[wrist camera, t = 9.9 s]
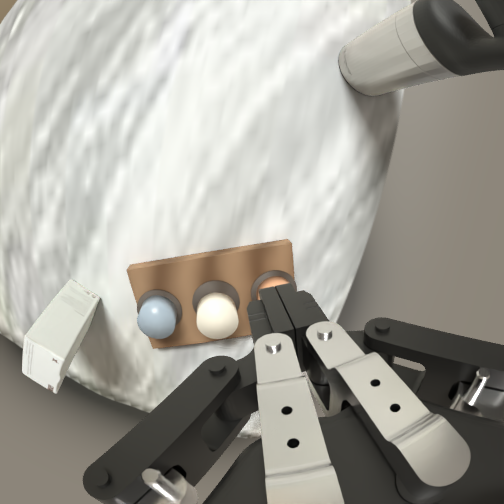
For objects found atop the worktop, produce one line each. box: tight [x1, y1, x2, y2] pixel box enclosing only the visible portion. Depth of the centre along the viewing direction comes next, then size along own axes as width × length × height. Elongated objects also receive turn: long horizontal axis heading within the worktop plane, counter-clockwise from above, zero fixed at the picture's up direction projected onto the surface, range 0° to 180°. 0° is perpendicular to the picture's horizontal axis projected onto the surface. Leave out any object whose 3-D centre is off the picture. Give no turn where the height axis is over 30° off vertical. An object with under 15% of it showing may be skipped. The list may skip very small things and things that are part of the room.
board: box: [127, 239, 297, 349], centre depth 38 cm, size 22×13×2 cm, turn 97°
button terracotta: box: [256, 276, 290, 300], centre depth 36 cm, size 5×5×3 cm
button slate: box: [137, 295, 177, 339], centre depth 34 cm, size 5×5×3 cm
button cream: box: [197, 293, 238, 339], centre depth 33 cm, size 5×5×3 cm
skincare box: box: [22, 279, 100, 393], centre depth 29 cm, size 8×6×15 cm
